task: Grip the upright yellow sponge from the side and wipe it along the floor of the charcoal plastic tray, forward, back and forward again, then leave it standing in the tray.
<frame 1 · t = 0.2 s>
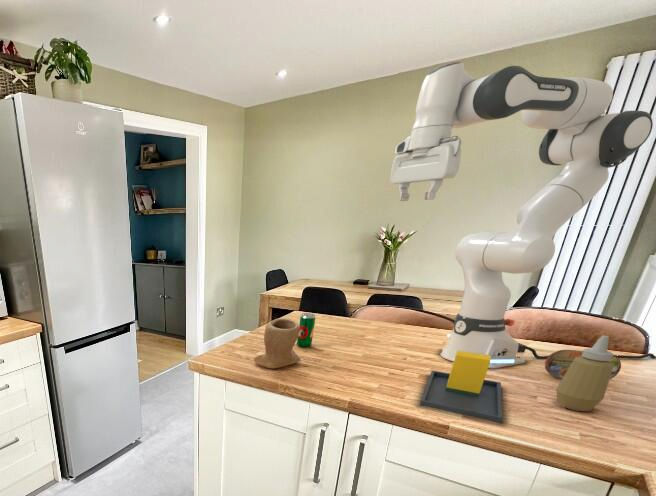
hand: (415, 200, 108), 48 cm above the countertop, tool pointing down, fingers open, 8 cm apart
soda can: (303, 346, 146), on the countertop
stone cup: (278, 365, 129), on the countertop
sponge: (462, 390, 106), point 1 cm above the countertop, touching tray
tray: (460, 397, 104), on the countertop
tin: (574, 379, 113), on the countertop
squeeze bottle: (573, 407, 98), on the countertop
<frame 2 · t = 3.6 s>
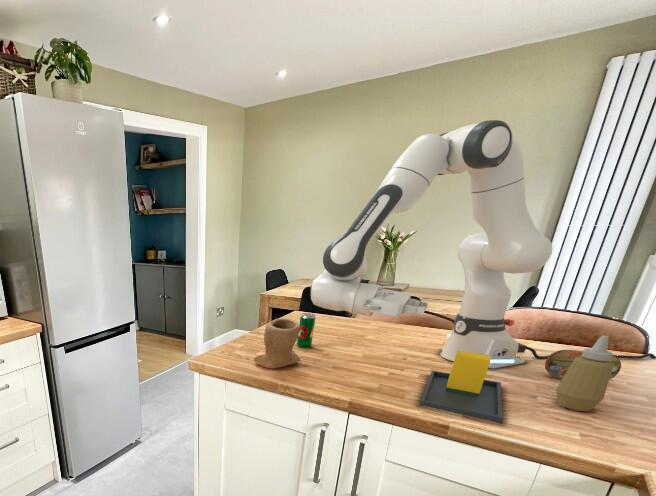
hand: (425, 308, 106), 21 cm above the countertop, tool horizontal, fingers open, 8 cm apart
nothing on the countertop moved.
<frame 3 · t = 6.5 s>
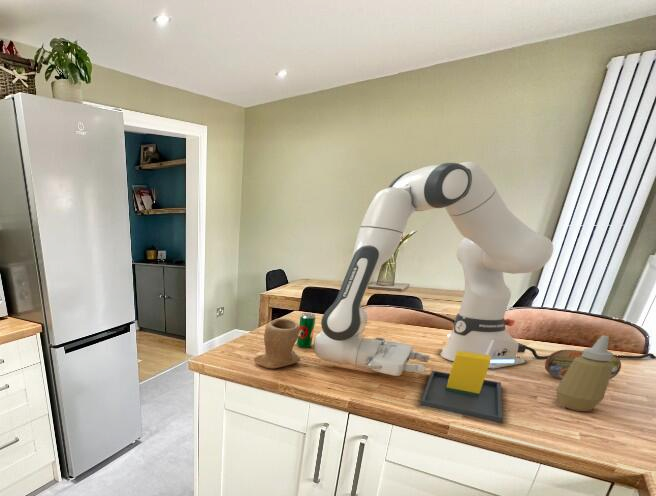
hand: (427, 363, 109), 6 cm above the countertop, tool horizontal, fingers open, 8 cm apart
nothing on the countertop moved.
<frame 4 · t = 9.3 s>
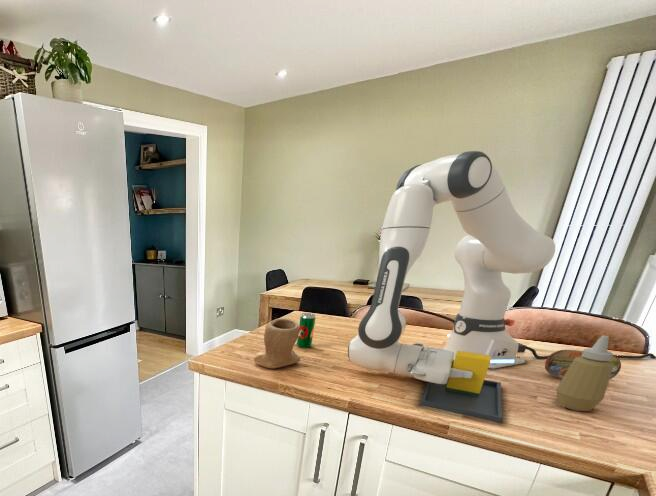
hand: (472, 371, 104), 6 cm above the countertop, tool horizontal, fingers closed on sponge, 4 cm apart
sponge: (462, 390, 106), point 1 cm above the countertop, touching gripper, tray
everything else where it was.
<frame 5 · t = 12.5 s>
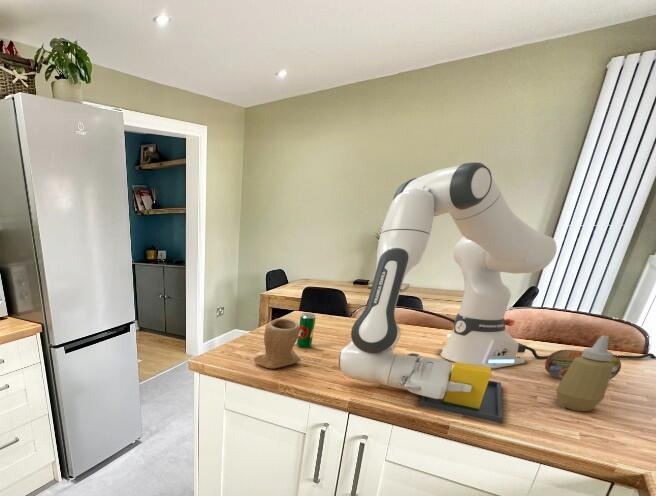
hand: (471, 384, 96), 6 cm above the countertop, tool horizontal, fingers closed on sponge, 4 cm apart
sponge: (460, 404, 99), point 1 cm above the countertop, touching gripper
everything else where it was.
when the fingers open (6 cm above the countertop, at t = 15.9 s): sponge stays where it is, resting on tray.
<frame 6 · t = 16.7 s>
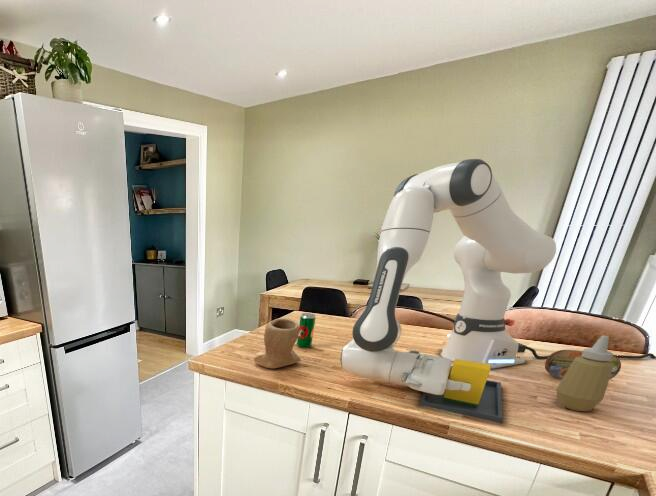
hand: (471, 380, 98), 6 cm above the countertop, tool horizontal, fingers open, 8 cm apart
sponge: (460, 400, 101), point 1 cm above the countertop, touching tray
everything else where it was.
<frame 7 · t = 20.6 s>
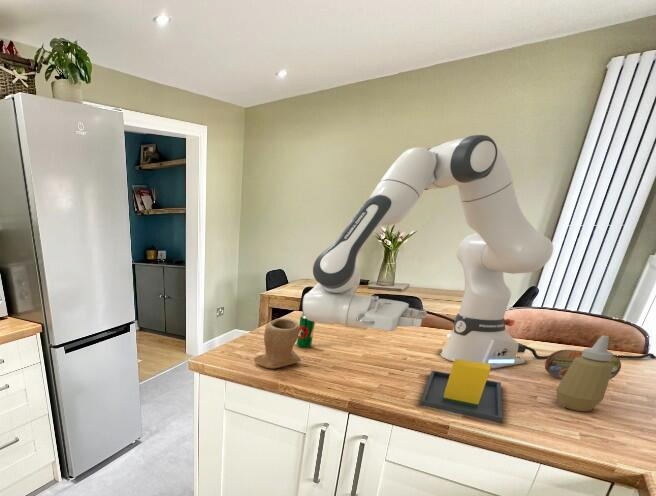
hand: (423, 318, 100), 20 cm above the countertop, tool horizontal, fingers open, 8 cm apart
nothing on the countertop moved.
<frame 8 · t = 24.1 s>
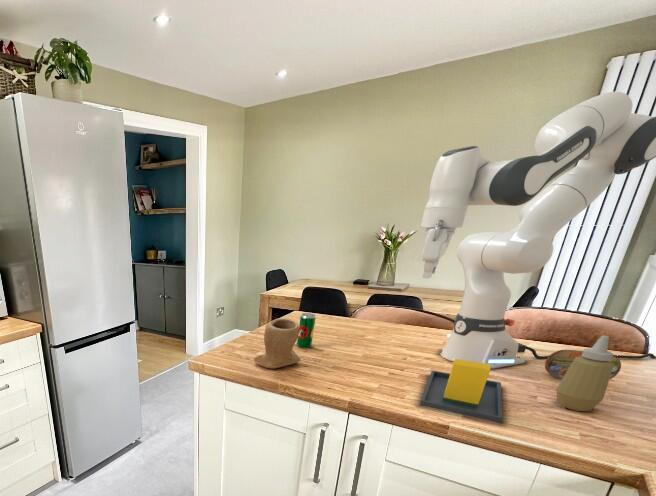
hand: (428, 275, 107), 29 cm above the countertop, tool pointing down, fingers open, 8 cm apart
nothing on the countertop moved.
at the end: sponge inside the target area in the tray (4.2 cm from its centre), point 0.6 cm above the tray's base; sponge moved 8.0 cm from its start; sponge tilted 0° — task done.
